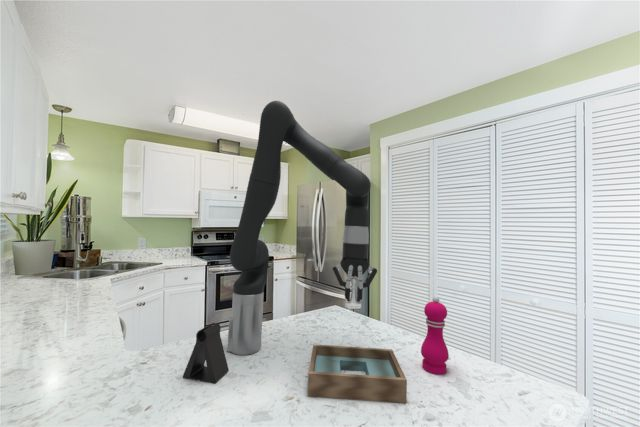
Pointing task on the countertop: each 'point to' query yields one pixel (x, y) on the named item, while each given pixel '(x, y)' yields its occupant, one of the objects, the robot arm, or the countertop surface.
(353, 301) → the chess piece
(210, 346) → the phone stand
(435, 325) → the pepper mill
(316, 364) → the box
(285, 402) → the countertop surface
